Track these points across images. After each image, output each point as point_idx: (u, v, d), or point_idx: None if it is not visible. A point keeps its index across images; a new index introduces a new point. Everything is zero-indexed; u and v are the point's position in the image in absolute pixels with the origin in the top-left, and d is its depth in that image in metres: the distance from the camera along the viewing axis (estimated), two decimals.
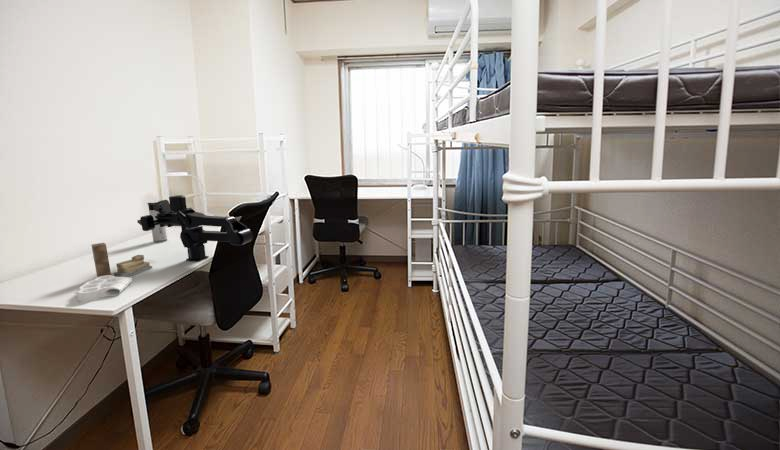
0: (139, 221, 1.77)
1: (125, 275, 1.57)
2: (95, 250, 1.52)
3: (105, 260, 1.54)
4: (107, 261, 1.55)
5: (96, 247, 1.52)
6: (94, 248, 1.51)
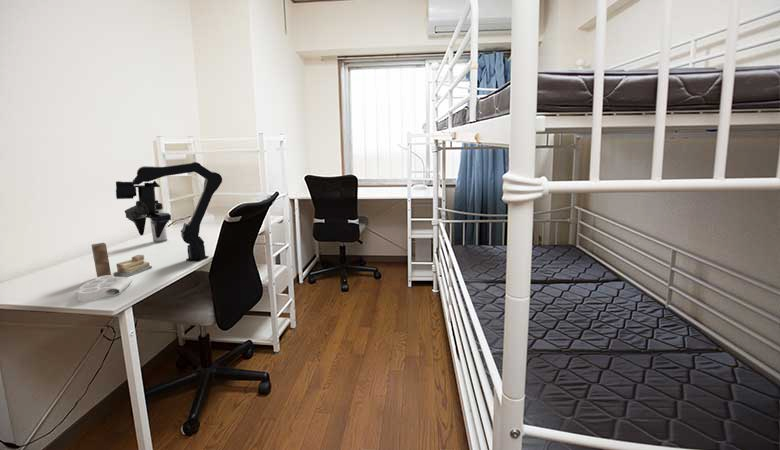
0: (158, 233, 1.65)
1: (125, 275, 1.57)
2: (95, 250, 1.52)
3: (105, 260, 1.54)
4: (107, 261, 1.55)
5: (96, 247, 1.52)
6: (94, 248, 1.51)
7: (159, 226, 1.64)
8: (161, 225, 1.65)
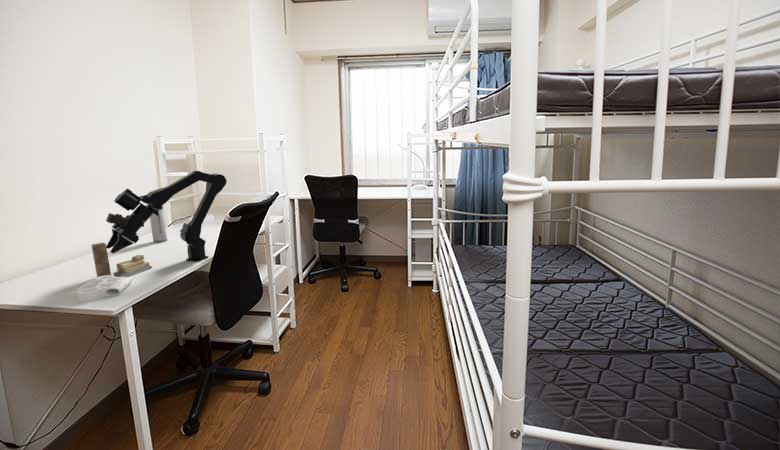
0: (114, 248, 1.53)
1: (125, 275, 1.57)
2: (95, 250, 1.52)
3: (105, 260, 1.54)
4: (107, 261, 1.55)
5: (96, 247, 1.52)
6: (94, 248, 1.51)
7: (121, 243, 1.54)
8: (124, 243, 1.54)
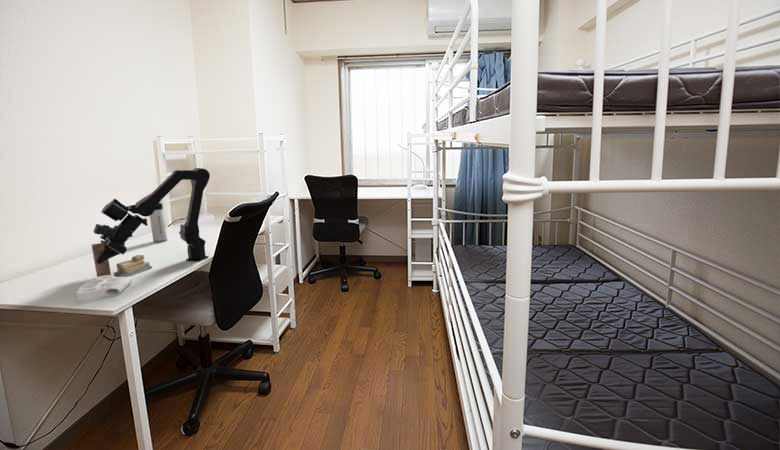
0: (101, 259, 1.52)
1: (125, 275, 1.57)
2: (95, 250, 1.52)
3: None
4: (107, 261, 1.55)
5: (96, 247, 1.52)
6: (94, 248, 1.51)
7: (107, 253, 1.53)
8: (110, 253, 1.54)
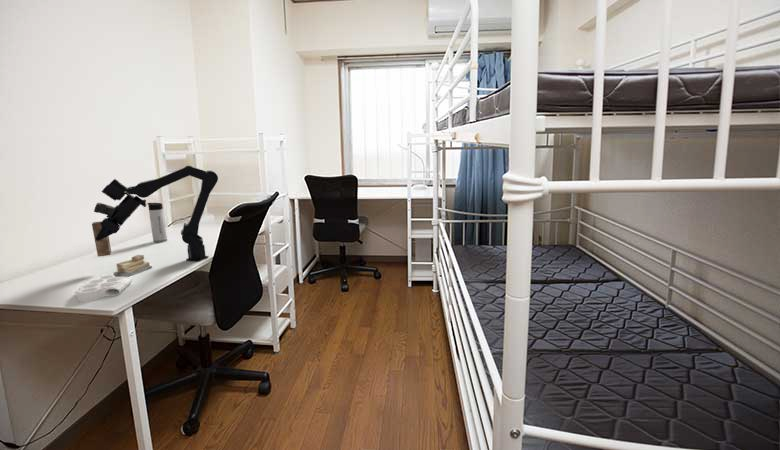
0: (99, 236, 1.59)
1: (125, 275, 1.57)
2: (94, 227, 1.58)
3: (104, 238, 1.60)
4: (105, 239, 1.60)
5: (95, 225, 1.58)
6: (93, 226, 1.58)
7: (105, 231, 1.59)
8: (107, 232, 1.59)
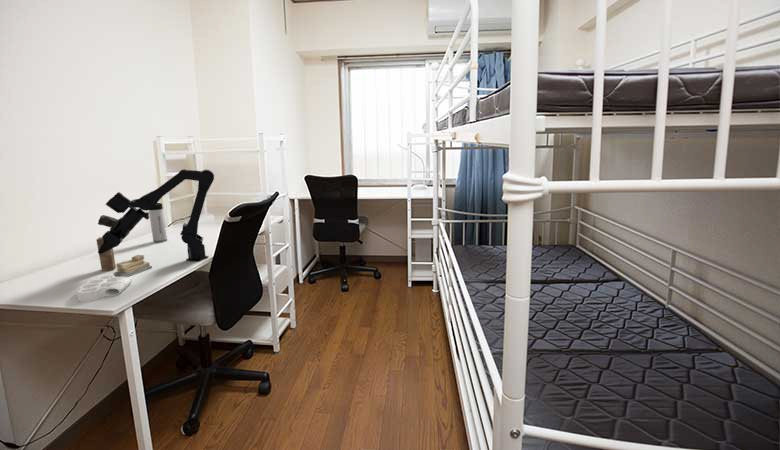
0: (101, 249, 1.60)
1: (125, 275, 1.57)
2: (98, 243, 1.62)
3: (108, 253, 1.63)
4: (109, 254, 1.64)
5: (99, 240, 1.62)
6: (97, 241, 1.61)
7: (107, 244, 1.60)
8: (109, 245, 1.60)
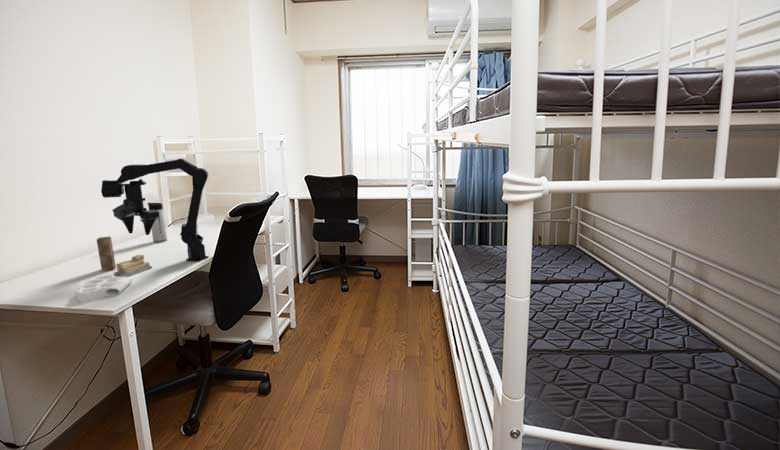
0: (147, 230, 1.67)
1: (125, 275, 1.57)
2: (98, 243, 1.62)
3: (108, 253, 1.63)
4: (109, 254, 1.64)
5: (99, 240, 1.62)
6: (97, 241, 1.61)
7: (148, 223, 1.66)
8: (150, 222, 1.67)
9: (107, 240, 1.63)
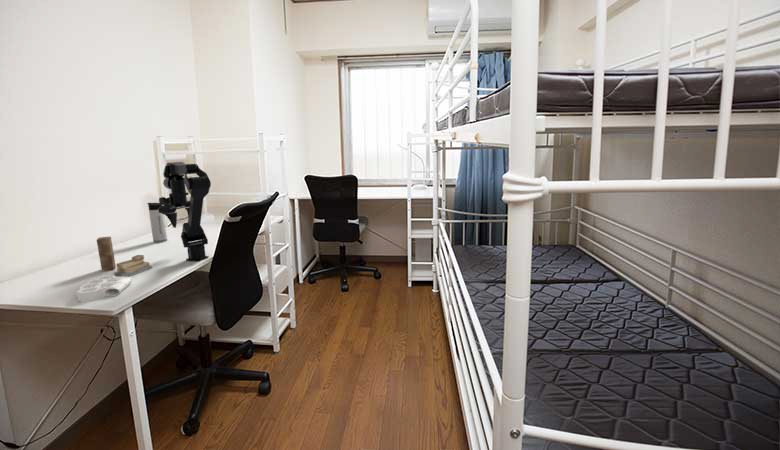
0: (172, 223, 1.80)
1: (125, 275, 1.57)
2: (98, 243, 1.62)
3: (108, 253, 1.63)
4: (109, 254, 1.64)
5: (99, 240, 1.62)
6: (97, 241, 1.61)
7: (171, 217, 1.79)
8: (172, 216, 1.78)
9: (107, 240, 1.63)
